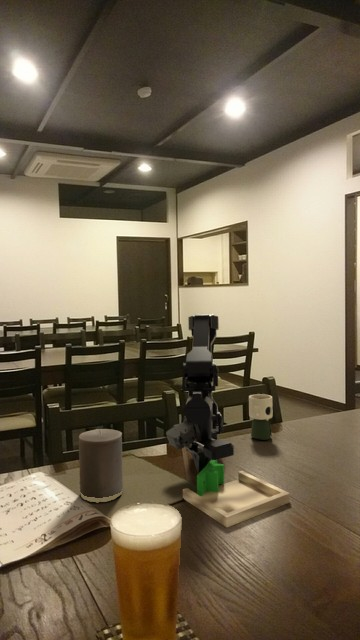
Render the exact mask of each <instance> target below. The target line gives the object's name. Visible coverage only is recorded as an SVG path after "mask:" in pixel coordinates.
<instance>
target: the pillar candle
mask: <svg viewBox="0 0 360 640" xmlns="http://www.w3.org/2000/svg"><path fill="white" fill-rule="evenodd" d="M122 434H123V432H121V431H119V430H115V429H109V428H96V429H92V430H88V431H84V432H81V433H80V434H79V436H78V459H79V460H78V462H79V463H78V464H79V466H78V467H79V493H80V492H81V493H82V494H83V495H84V496H87V497H95V498H103V497H109V496H113V495H115V494H118V493H120V492H121V491H122V489H123V490H124V479H123V478H124V475H123V469H124V468H123V441H122V440H123V438H122V436H123V435H122Z"/></svg>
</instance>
